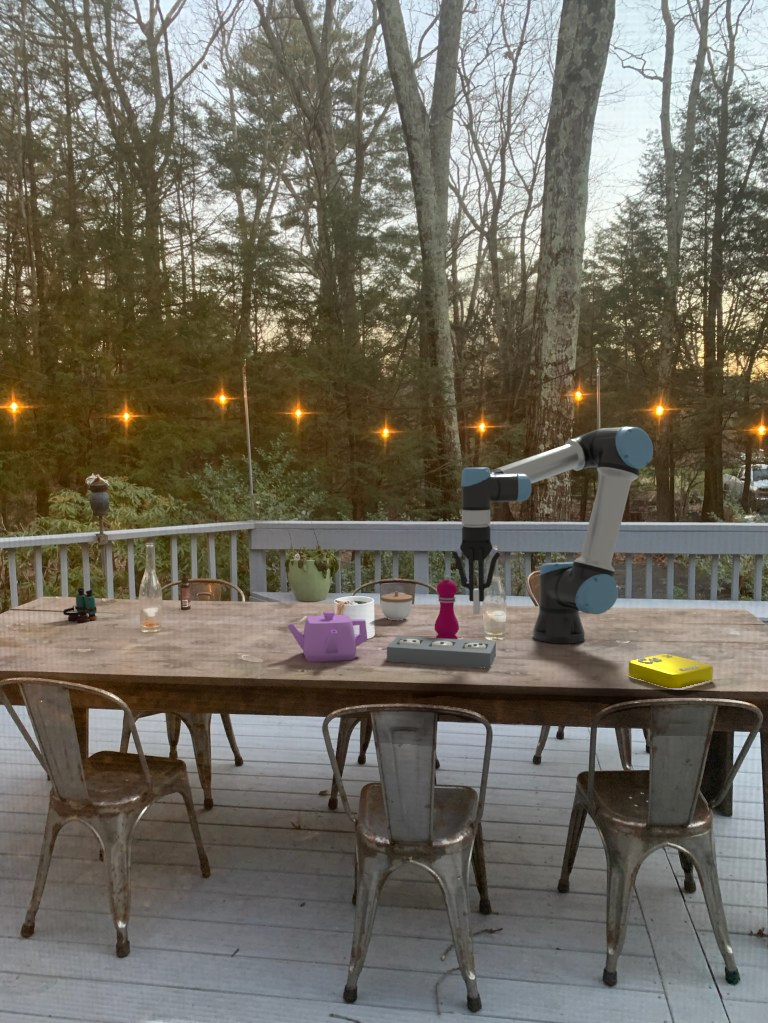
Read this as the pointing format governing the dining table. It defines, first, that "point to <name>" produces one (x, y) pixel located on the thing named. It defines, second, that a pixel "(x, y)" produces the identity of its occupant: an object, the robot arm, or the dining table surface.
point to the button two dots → (410, 642)
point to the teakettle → (329, 637)
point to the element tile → (670, 671)
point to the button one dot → (442, 644)
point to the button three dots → (475, 646)
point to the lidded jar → (396, 605)
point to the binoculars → (82, 607)
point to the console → (442, 652)
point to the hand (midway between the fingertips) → (476, 613)
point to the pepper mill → (446, 610)
